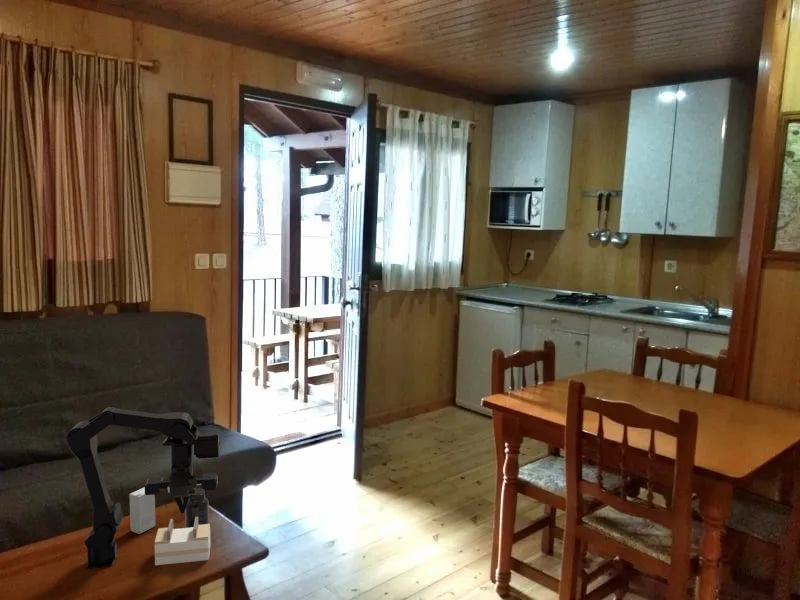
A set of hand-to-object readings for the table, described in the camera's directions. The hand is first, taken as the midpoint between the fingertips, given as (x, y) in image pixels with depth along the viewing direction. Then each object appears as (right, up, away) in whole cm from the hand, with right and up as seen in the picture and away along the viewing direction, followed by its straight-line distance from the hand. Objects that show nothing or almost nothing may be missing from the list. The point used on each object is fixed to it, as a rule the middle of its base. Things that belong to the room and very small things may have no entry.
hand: (182, 512), depth 172 cm
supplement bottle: (-1, -11, +17) cm, 20 cm away
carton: (0, -12, +1) cm, 12 cm away
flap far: (+5, -6, +2) cm, 8 cm away
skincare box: (-18, -11, +16) cm, 26 cm away
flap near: (-5, -6, 0) cm, 8 cm away
